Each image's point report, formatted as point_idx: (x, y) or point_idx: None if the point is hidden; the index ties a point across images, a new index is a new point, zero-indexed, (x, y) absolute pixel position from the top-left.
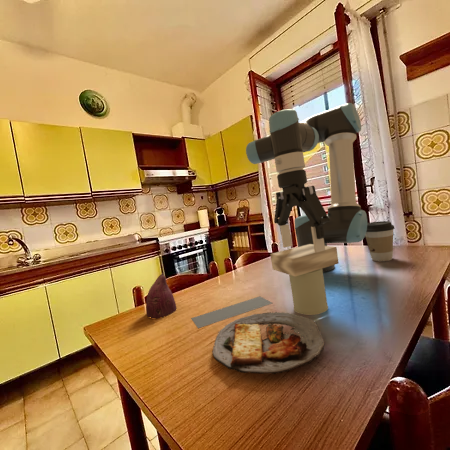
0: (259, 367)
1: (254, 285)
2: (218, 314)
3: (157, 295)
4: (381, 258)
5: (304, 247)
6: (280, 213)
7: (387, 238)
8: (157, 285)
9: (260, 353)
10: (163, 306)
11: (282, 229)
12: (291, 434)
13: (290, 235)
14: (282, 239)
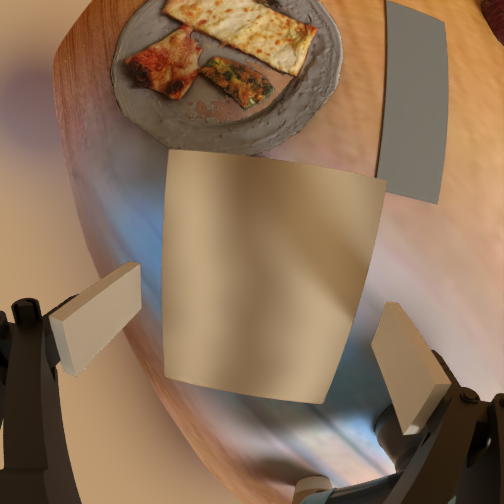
0: (152, 5)
1: (495, 256)
2: (422, 60)
3: None
4: (306, 481)
5: (298, 352)
6: (479, 477)
7: None
8: None
9: (189, 22)
10: (495, 6)
11: (422, 369)
12: (86, 16)
13: (385, 380)
14: (410, 325)
